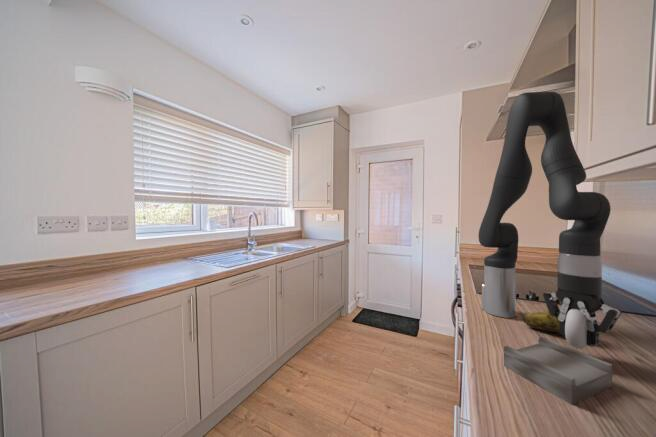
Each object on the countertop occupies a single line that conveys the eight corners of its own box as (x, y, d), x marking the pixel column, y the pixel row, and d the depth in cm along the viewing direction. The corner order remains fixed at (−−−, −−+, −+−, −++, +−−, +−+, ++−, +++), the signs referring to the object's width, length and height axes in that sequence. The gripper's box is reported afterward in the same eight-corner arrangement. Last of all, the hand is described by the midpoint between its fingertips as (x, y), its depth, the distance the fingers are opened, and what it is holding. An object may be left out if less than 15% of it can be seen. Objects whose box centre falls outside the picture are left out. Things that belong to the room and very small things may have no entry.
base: (503, 365, 54) (503, 346, 54) (541, 354, 59) (541, 336, 59) (571, 404, 43) (571, 380, 43) (612, 386, 47) (612, 364, 47)
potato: (533, 322, 78) (533, 298, 78) (589, 339, 66) (589, 311, 66) (521, 327, 74) (521, 302, 74) (578, 346, 62) (578, 317, 62)
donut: (572, 338, 62) (574, 301, 62) (592, 344, 59) (593, 305, 59) (562, 350, 56) (563, 309, 56) (582, 357, 54) (584, 314, 53)
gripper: (630, 277, 52) (630, 353, 52) (552, 265, 65) (551, 325, 66) (613, 281, 50) (612, 360, 50) (535, 267, 63) (534, 329, 63)
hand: (577, 340), depth 58 cm, fingers closed on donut, 4 cm apart
